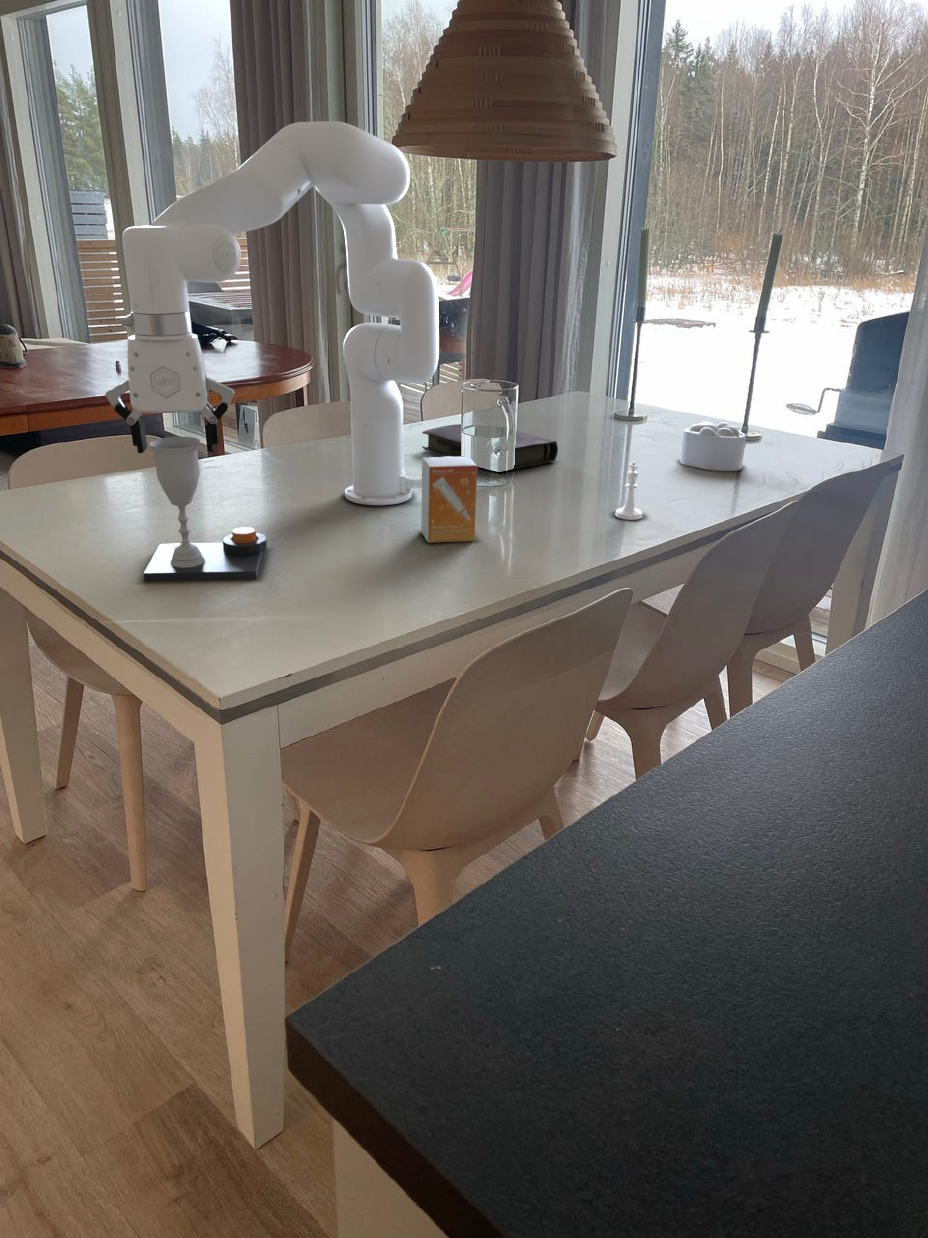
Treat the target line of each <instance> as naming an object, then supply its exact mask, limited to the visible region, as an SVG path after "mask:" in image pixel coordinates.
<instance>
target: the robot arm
mask: <svg viewBox="0 0 928 1238" xmlns="http://www.w3.org/2000/svg"><path fill="white" fill-rule="evenodd" d="M410 181H411V171H410V166H409V163H408V161H407V159H406V157H405V155H404V153H403V152H402V151H401V150H400V149H399V148H398V147H397V146H396V145H394V144H392V143H390V142H388V141H386V140H384V139H383V138H380V137H378V136H376V135H374V134H372V133H371V132H368V131H365V130H364V129H361V128H359V127H357V126H355V125H352V124H350V123H347V122H344V121H337V120H325V121H322V120H321V121H298V122H297V121H296V122H293V123H290V124H287V125H285V126H283V127H282V128H281V129H280V130H279V131H277V132H276V133H275V134H274V135H273V136H272V137H271V138H270V139H269V140H267V142H265V143H264V144H263V145H262V146H261V147H260V148H259V149H258V150H257V151H255V153H254V154H252V155H251V156H250V157H249V158H248V159H247V160H245V162H244V163H242V164H241V166H239V167H237V168H236V169H234V170H233V171H232V172H229V173H227V174H225V175H222V176H220V177H218V178H216V179H215V180H213V181H211V182H209V183H207V184H205V185H203V186H201V187H199V188H197V189H194V190H193V191H191V192H189V193H187V194H185V195H183V196H182V197H180V198H179V199H178V200H176V201H174V203H172V204H171V205H169V206H168V207H167V208H166V209H165V210H164V211H163V212H161V213H160V214H159V215H158V216H157V217H156V218H155V219H154V220H153V221H152V222H151V224H150V225H140V226H138V225H136V226H130V227H127V228H126V229H125V230H124V231H122V236H121V245H122V252H123V259H124V267H125V275H126V282H127V291H128V297H129V305H130V313H129V315H126V316H121V318H120V322H121V326H122V328H128V329H131V331H132V335H131V336H128V337H127V338H128V339H127V376H128V378H127V380H125V381H123V382H121V383H119V384H118V385H116V386H114V387H112V388H110V389H109V390H107V391H106V392H105V398H106V399H107V401H108V402H109V404H110V405H111V406H112V407H113V409H114V412H115V413H116V414H117V415H118V416H120V417H121V418H122V419H123V420H124V421H126V423H127V424H128V426H130V434H131V440H132V446H134V447H136V449H137V453H138V454H143V453H145V451H146V450H147V449H148V442H147V441H148V440H147V435H146V426H145V421H143V420H142V418H141V417H142V416H143V414H173V413H175V414H177V413H178V414H179V413H199V414H200V415H201V416H202V417H203V418H204V419H205V420H206V423H205V424H204V428H205V429H204V430H205V436H206V437H205V438H206V446H207V451H208V452H209V453H214V451H215V450H216V447H217V445H218V446H219V445H220V433H219V425H218V423H219V422H218V421H219V420H220V419H221V418H222V417H223V416H224V414H226V412H227V411H228V410H229V407H230V405H231V403H232V400H233V398H234V395H235V389H233V388H231V387H229V386H227V385H225V384H223V383H221V382H219V381H217V380H215V379H212V378H210V377H208V375H207V369H206V364H205V359H204V355H203V351H202V346H201V343H200V340H199V337H198V334H195V333H193V327H192V319H191V311H190V302H189V291H188V283H190V282H195V283H207V284H216V283H217V284H218V283H222V282H225V281H228V280H229V279H231V278H232V277H233V276H235V274H236V273H237V272H238V270H239V269H240V265H241V263H242V249H241V245H240V244H239V243H240V242H239V241H238V240H237V238H236V236H235V235H236V234H240V233H246V232H251V231H255V230H258V229H261V228H264V227H267V226H270V225H272V224H274V223H276V222H278V221H279V220H281V218H282V217H283V216H284V215H285V214H286V213H287V212H288V211H289V210H290V209H291V208H292V207H293V206H294V205H295V204H296V203H297V202H298V201H299V200H300V199H301V198H302V197H303V196H304V195H306V193H308V192H309V190H310V189H311V188H315V190H316V191H317V192H318V193H319V194H320V196H321V197H322V198H323V199H324V200H325V201H326V202H327V203H328V204H329V205H330V206H331V208H333V210H334V212H335V213H336V215H337V216H338V219H339V220H340V222H341V225H342V228H343V232H344V240H345V241H344V242H345V251H346V252H345V253H346V267H347V268H346V269H347V284H348V287H347V288H348V294H349V295H348V296H349V300H350V303H351V306H352V307H353V308H354V310H356V311H357V312H358V313H361V314H364V315H367V316H375V317H385V318H395V319H398V320H399V325H398V324H393V323H382V322H363V323H360V324H357V325H355V326H353V327H352V328H350V329H349V330H348V332H347V333H346V335H345V338H344V341H343V347H342V351H343V359H344V365H345V369H346V373H347V378H348V386H349V395H350V398H349V399H350V425H351V426H350V429H351V430H350V431H351V463H352V464H351V466H352V485H350V486H348V487H346V488H345V490H344V497H345V498H346V500H347V501H350V503H351V502H352V503H355V504H358V505H365V506H390V505H396V504H397V505H398V504H401V503H404V502H407V501H409V500H410V499H411V498H412V494H413V493H412V489H422V477H421V476H420V475H419V476H418V475H417V476H416V475H415V476H414V475H413V476H409V475H407V474H406V471H405V469H404V405H403V399H402V398H403V397H402V395H401V392H400V389H399V387H398V385H397V382H399V383H406V384H414V385H415V384H416V385H418V384H419V385H420V384H425V383H427V382H429V381H430V380H431V378H433V376H434V375H435V373H436V371H437V368H438V363H439V357H440V356H439V355H440V328H439V327H440V326H439V325H440V323H439V322H440V321H439V315H440V313H439V291H438V290H439V289H438V284H437V280H436V278H435V277H436V276H435V274H434V273H433V270H432V269H431V268H430V267H429V266H428V265H427V264H426V263H424V262H422V261H420V260H416V259H409V258H408V259H407V258H406V259H405V258H398V252H397V243H396V229H395V224H394V221H393V217H392V215H391V213H390V211H389V209H388V206H387V205H393V204H396V203H397V202H399V201H401V199H403V198H404V197H405V195H406V194H407V192H408V189H409V186H410V183H411V182H410ZM133 334H134V335H133ZM210 391H211V392H214V393H215V394H218V395H219V396H221V400H220V403H219V404H218V406H216V408H214V407H213V406H212V405H211V403H209V402H210ZM127 392H129V400H130V404H131V407H132V409H131V408H130V407H129V406H128V405H126V403H124V401H122V399H121V396H122V395H124V394H125V393H127Z"/></svg>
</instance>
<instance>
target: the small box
mask: <svg viewBox="0 0 928 1238" xmlns="http://www.w3.org/2000/svg"><path fill="white" fill-rule="evenodd" d="M421 478H422V488H421V508H420V509H421V510H420V511H421V533H422V535H423V536H424V538H425V540H426V541H427V543H428V544H434V543H455V542H456V543H457V542H475V540H476V518H477V517H476V514H477V490H478V489H477V486H478V485H477V483H478V481H477V480H478V468H477V465H476V464H475V463H474V461H473V460H472V459H471V458H470V457H469V456H461V457H444V456H439V457H437V456H435V457H433V456H431V457H422V458H421Z"/></svg>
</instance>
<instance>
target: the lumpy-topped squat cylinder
mask: <svg viewBox="0 0 928 1238" xmlns="http://www.w3.org/2000/svg"><path fill="white" fill-rule="evenodd" d="M681 439H682V440H681V448H680V456H679V457H680V458H679V463H680V464H681V465H684V466H689V467H693V468H698V469H701V470H707V471H718V472H735V471H737V472H738V471H740V470H742V467H743V460H744V453H745V446H746V439H747V437H746V434H745V433H744V432H742V431H740V430H739V429H738V428H737V427H735V426H733V425H731V424H729V423H728V422H725V421H721V422H718V423H717V424H715V423H712V422H709V421H701V422H698V423H695V424H692V425H691V426H689V427H687V428H684V429H683V431H682V438H681Z"/></svg>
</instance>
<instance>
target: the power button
mask: <svg viewBox="0 0 928 1238" xmlns="http://www.w3.org/2000/svg"><path fill="white" fill-rule="evenodd" d="M256 533H257V529H256V528H254V527H252V526H240V527H239V526H238V527H236V528H233V529H232V531H231V534H232V536H233V542H235V543H250V542H255V541H257V538H256Z"/></svg>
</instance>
